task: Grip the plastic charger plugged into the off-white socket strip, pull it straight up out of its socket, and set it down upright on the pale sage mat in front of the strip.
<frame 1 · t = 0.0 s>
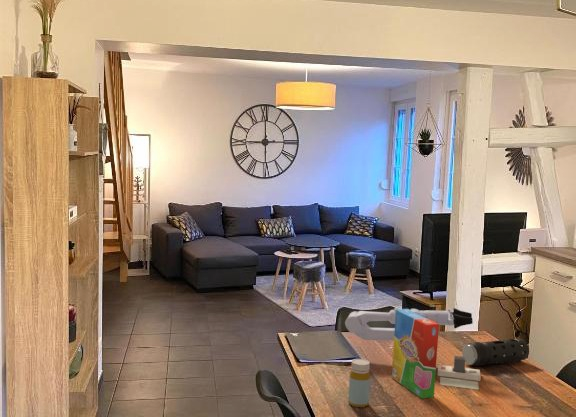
hand: (472, 318, 244), 22 cm above the table, tool horizontal, fingers open, 7 cm apart
sage mat: (459, 384, 230), on the table
charger: (458, 375, 239), resting on socket strip
socket strip: (458, 376, 239), on the table
muzzle brake: (494, 365, 255), on the table
game box: (412, 387, 226), on the table
bottle: (358, 404, 209), on the table
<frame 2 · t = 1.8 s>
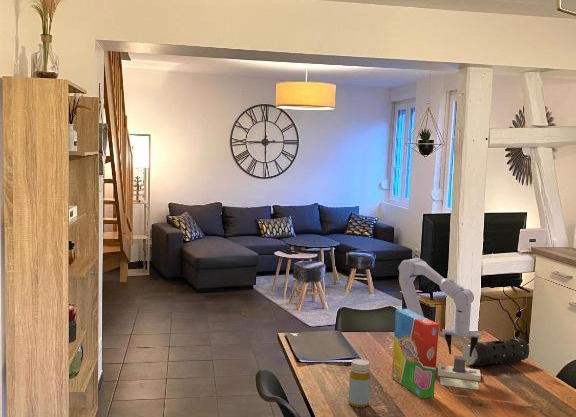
hand: (460, 354, 238), 9 cm above the table, tool pointing down, fingers open, 7 cm apart
nothing on the table moved.
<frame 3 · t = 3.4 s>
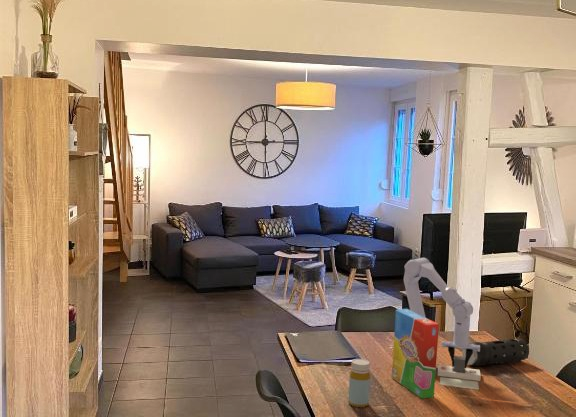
hand: (459, 366, 239), 4 cm above the table, tool pointing down, fingers closed on charger, 4 cm apart
charger: (458, 375, 239), resting on socket strip, touching gripper
everything else where it was.
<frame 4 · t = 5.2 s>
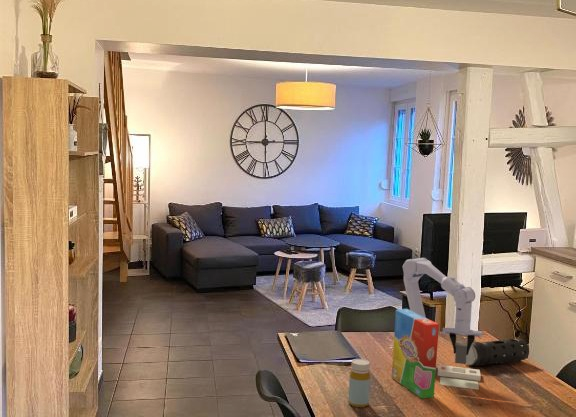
hand: (460, 353, 234), 10 cm above the table, tool pointing down, fingers closed on charger, 4 cm apart
charger: (460, 361, 235), point 7 cm above the table, touching gripper
everything else where it was.
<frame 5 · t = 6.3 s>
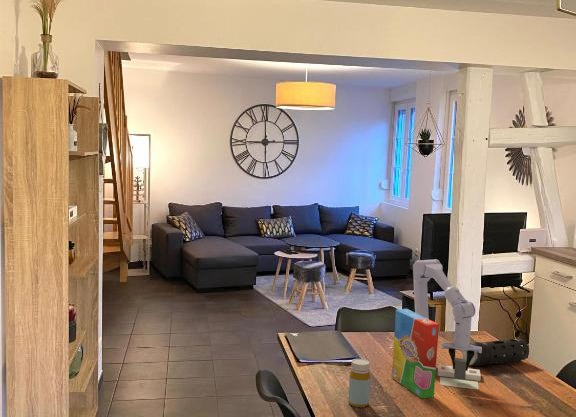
hand: (460, 369, 230), 6 cm above the table, tool pointing down, fingers closed on charger, 4 cm apart
charger: (459, 377, 230), point 3 cm above the table, touching gripper
everything else where it was.
when the fingers open (5 cm above the table, at t = 7.3 s): charger drops 1 cm, resting on sage mat.
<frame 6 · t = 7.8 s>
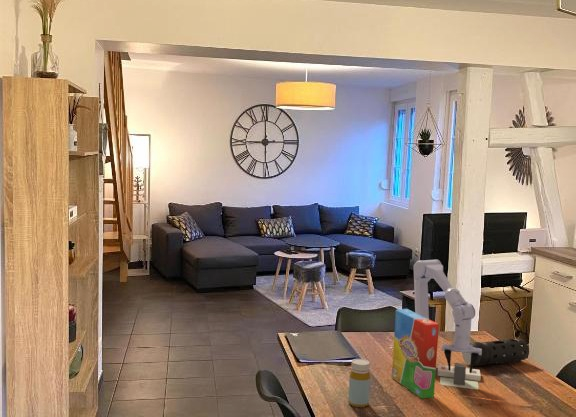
hand: (459, 370, 230), 5 cm above the table, tool pointing down, fingers open, 7 cm apart
charger: (458, 382, 230), point 1 cm above the table, touching sage mat
everything else where it was.
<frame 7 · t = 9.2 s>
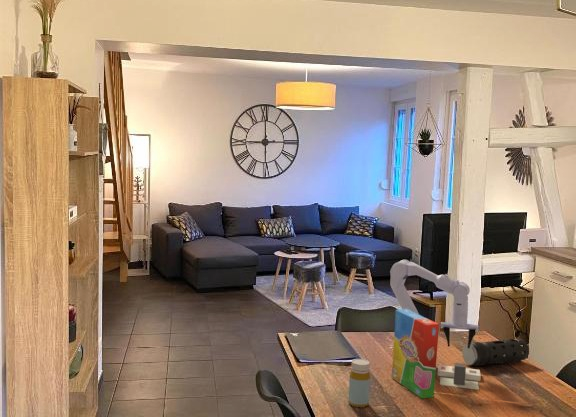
hand: (458, 346, 243), 10 cm above the table, tool pointing down, fingers open, 7 cm apart
nothing on the table moved.
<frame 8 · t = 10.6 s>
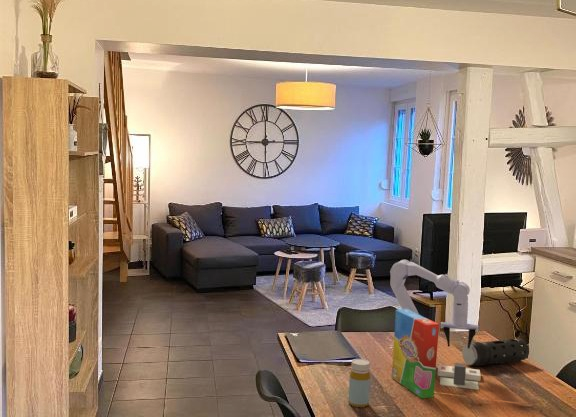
hand: (458, 346, 243), 10 cm above the table, tool pointing down, fingers open, 7 cm apart
nothing on the table moved.
at the end: charger inside the target area on the sage mat (0.2 cm from its centre), point 0.6 cm above the sage mat's base; charger tilted 0°; the gripper is holding nothing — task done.
